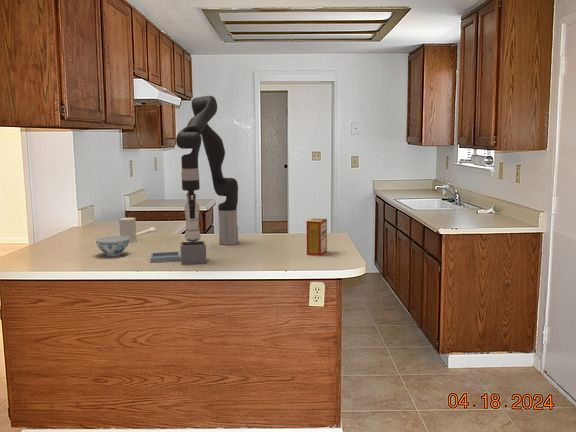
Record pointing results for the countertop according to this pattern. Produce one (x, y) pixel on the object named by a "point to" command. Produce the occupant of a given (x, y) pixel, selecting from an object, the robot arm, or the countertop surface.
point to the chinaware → (112, 244)
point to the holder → (193, 252)
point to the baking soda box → (316, 236)
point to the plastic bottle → (192, 224)
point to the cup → (128, 228)
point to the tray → (165, 257)
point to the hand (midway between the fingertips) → (192, 217)
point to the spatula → (146, 231)
